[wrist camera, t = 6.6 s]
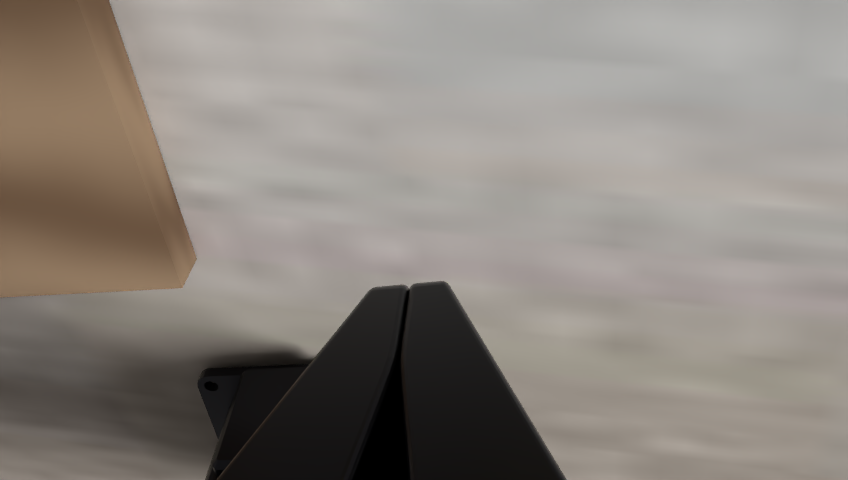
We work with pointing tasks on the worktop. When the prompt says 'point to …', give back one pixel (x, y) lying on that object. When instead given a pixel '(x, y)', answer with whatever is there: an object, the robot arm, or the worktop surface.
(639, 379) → the worktop surface
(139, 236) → the board
